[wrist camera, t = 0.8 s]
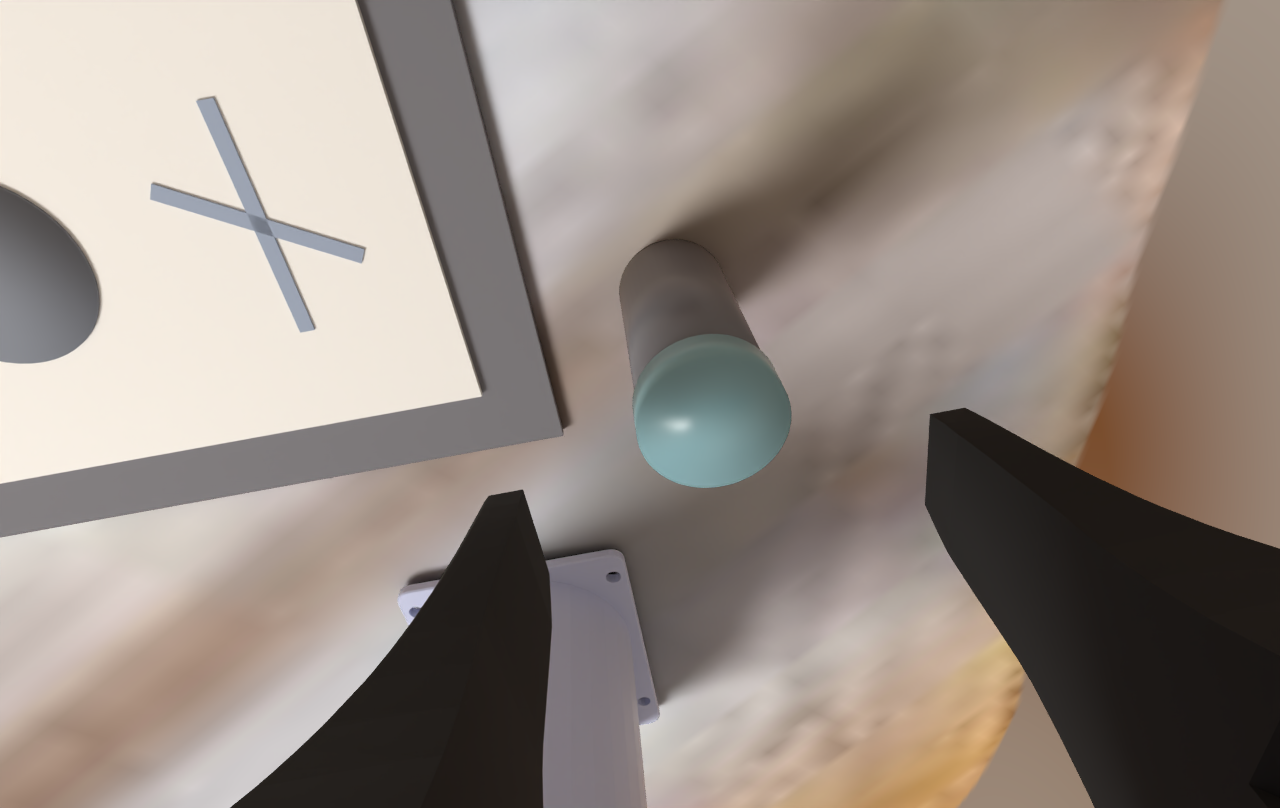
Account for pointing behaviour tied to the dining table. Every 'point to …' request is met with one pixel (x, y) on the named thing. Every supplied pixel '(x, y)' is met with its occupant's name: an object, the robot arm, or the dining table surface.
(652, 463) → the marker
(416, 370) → the grey framed board
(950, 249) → the dining table surface
